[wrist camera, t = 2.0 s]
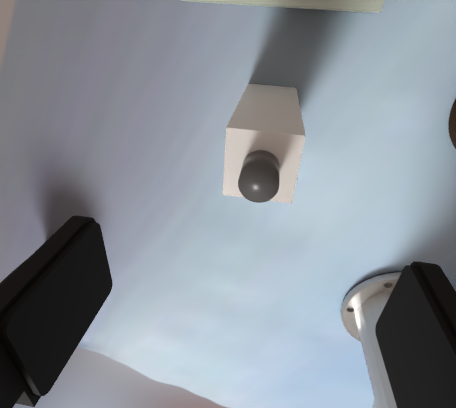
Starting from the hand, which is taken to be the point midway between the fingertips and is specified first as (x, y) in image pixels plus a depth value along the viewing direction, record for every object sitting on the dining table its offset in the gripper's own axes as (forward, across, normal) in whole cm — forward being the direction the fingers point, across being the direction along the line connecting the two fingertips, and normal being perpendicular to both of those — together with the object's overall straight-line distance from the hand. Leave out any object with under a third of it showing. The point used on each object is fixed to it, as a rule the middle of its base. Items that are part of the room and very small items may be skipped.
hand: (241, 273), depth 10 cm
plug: (+20, 0, 0) cm, 20 cm away
